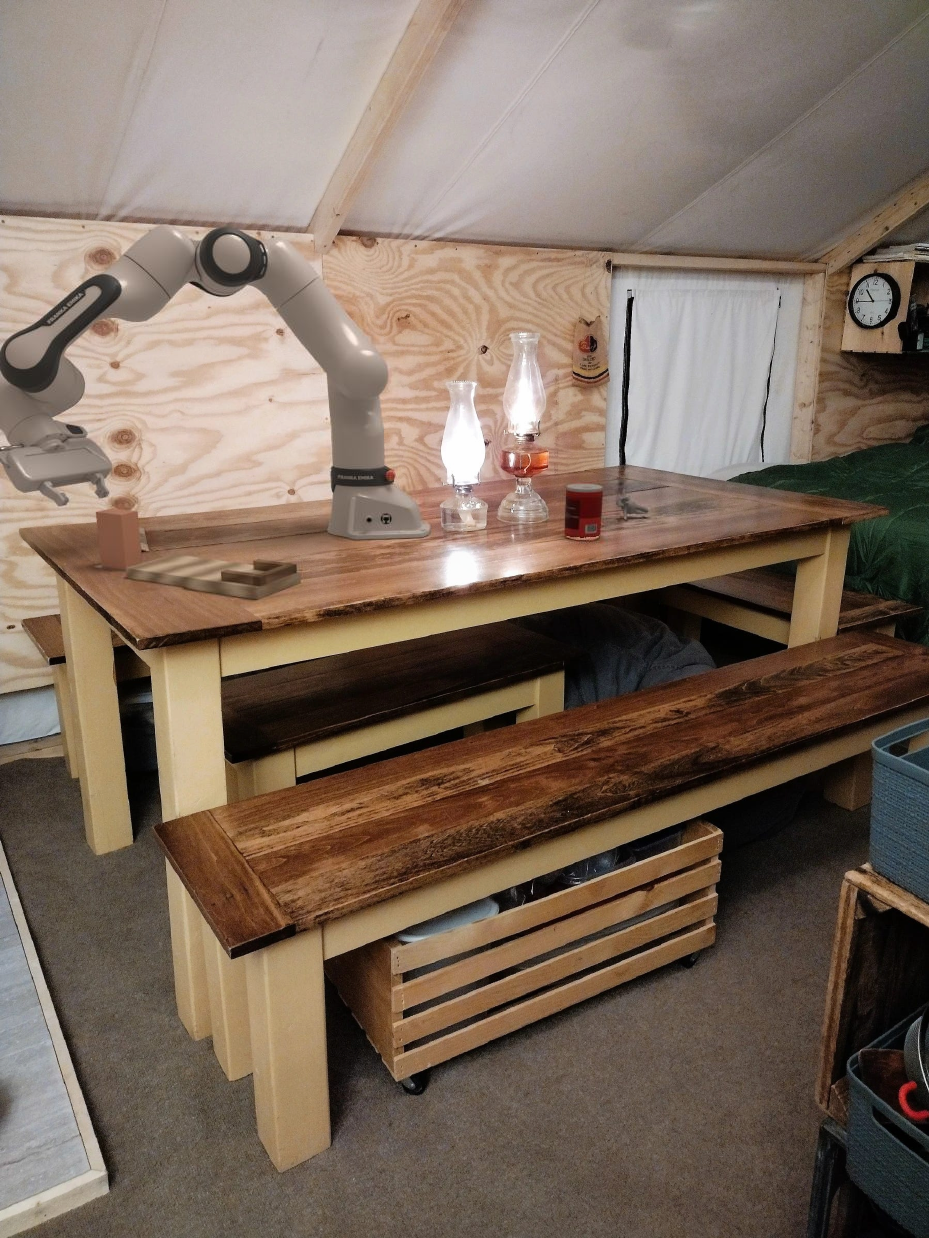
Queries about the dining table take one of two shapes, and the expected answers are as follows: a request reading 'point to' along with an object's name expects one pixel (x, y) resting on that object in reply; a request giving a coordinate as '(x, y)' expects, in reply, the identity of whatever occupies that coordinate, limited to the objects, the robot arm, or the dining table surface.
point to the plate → (110, 568)
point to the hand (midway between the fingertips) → (85, 499)
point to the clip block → (119, 538)
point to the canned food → (583, 510)
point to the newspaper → (143, 540)
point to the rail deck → (219, 575)
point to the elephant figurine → (629, 505)
